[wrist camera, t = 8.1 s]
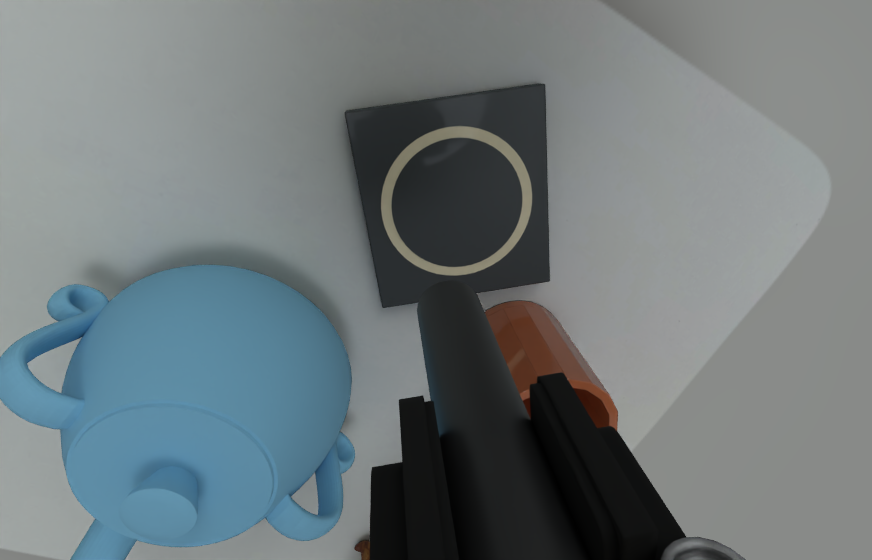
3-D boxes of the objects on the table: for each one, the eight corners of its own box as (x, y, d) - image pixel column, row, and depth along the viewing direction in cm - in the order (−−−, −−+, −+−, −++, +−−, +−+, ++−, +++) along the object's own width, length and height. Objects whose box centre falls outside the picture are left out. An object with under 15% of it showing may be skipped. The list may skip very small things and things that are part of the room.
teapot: (423, 354, 33) (445, 506, 22) (260, 520, 38) (209, 715, 27) (157, 170, 26) (-15, 252, 15) (0, 402, 31) (-220, 597, 20)
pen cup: (459, 309, 32) (486, 392, 24) (560, 292, 32) (620, 369, 24) (469, 391, 35) (496, 490, 27) (561, 375, 35) (615, 469, 27)
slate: (345, 110, 26) (344, 112, 25) (540, 83, 27) (546, 83, 26) (382, 301, 31) (382, 309, 30) (545, 275, 32) (550, 282, 31)
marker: (409, 282, 16) (473, 740, 5) (479, 271, 16) (688, 697, 5) (419, 342, 17) (490, 833, 6) (484, 331, 17) (669, 794, 6)
